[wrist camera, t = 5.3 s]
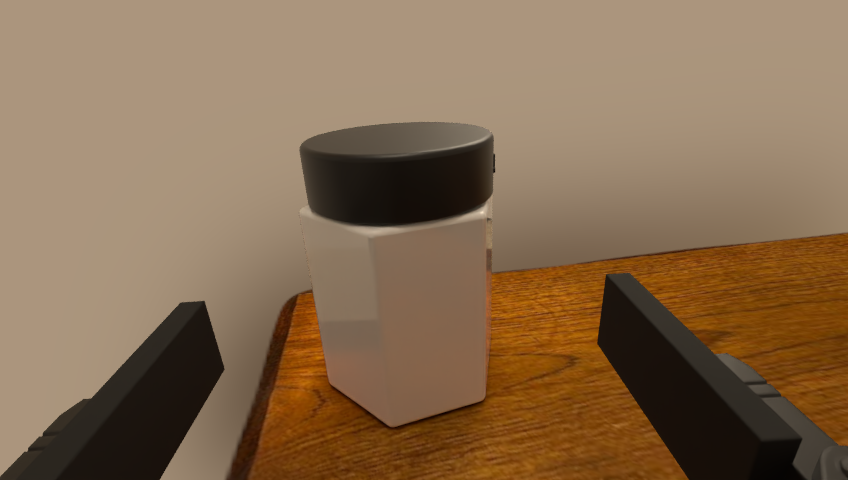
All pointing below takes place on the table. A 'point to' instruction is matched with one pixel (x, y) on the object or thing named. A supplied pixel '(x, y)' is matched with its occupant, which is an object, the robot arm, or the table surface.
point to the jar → (402, 263)
